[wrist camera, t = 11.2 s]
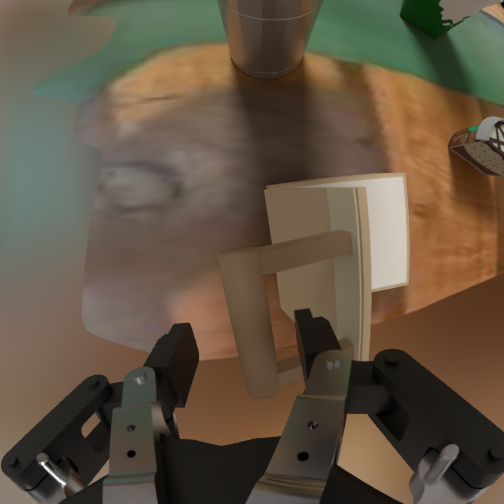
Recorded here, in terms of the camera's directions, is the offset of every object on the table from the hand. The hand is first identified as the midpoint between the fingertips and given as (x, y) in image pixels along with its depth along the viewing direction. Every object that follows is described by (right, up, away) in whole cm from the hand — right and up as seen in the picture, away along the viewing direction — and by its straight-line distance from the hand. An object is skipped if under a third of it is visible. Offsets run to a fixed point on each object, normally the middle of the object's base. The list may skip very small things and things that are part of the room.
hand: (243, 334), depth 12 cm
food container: (+34, +20, +17) cm, 43 cm away
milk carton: (+28, +42, +11) cm, 51 cm away
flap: (+5, +3, +7) cm, 9 cm away
